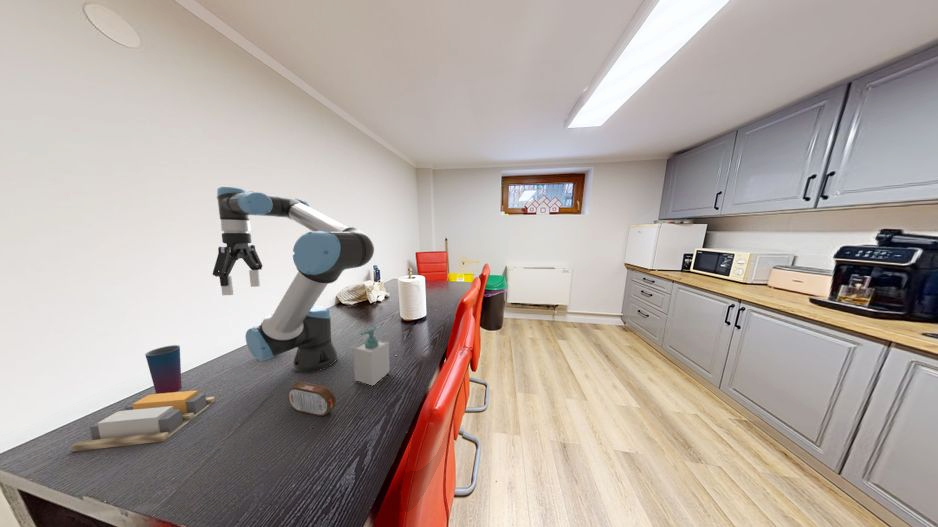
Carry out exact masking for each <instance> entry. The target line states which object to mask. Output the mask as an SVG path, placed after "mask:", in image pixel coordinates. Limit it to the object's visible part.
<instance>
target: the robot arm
mask: <svg viewBox="0 0 938 527" xmlns="http://www.w3.org/2000/svg"><path fill="white" fill-rule="evenodd" d="M216 200H217V205H218V206H217V207H218V214H219V220H220V222H219V223H220V230H221V231H222V233H221V241H222V243H223V244H226V246H218V247H217V248H218V249H217V250H218V251H217V252H218V254H217V257H216V261H215V264H214V268H213V271H212V276H213V277H217V278H218V277H219V283H220V286H221V295H222V296H232V295H234V288H233V281H232V280H233V277H232V275H230V274H231V272H232V270H233V267H234V266H235V264H236V261H238V260H239V259H241V260H243V262H244V263H245V264H246V265H247V266H248V268H249V270H248V272H249V273H248V274H249V281H250V282H249V283H250V287H251V288H252V287H253V288H254V287H255V288H256V287H260V286H261V283H260V282H261V281H260V273H259V270H262V269H263V263H262V261H261V259H260V257H259V255H258V253H257V250H256V246H255V244H251V243H252V233H249V232H251V231H252V230H251V222H250V216H258V217H259V216H260V217H261V216H262V217H273V218H274V217H276V218H277V217H278V218H286V219H289V220H291V221H293V222H295V223H296V224H298V225H300V226H301V227H303V228H305V229H307V230H308V231H309V232H305V233H303V234H302V235H301V236H299V237H298V239H297V240H296V241H295V243H294V245H293V249H292V252H293V253H294V254H292V259H293V264H294V266H295V267H296V270H297V273H296V275H295V276H294V278H293V280H292V282H291V283H290V285H289V287H288V288H287V290H286V292H285V293H284V295H283V297H281V300H280V302H279V303H278V305H277V307H276V308H275V311H274V312H271V313H269V314H267V316H266V317H264V319H263V320H262V322H261V324H260V325H258V326H253V327H251V328H249V329H248V330H246V332H245V341H246V345H247V349H248V351H249V352H250V354H251V355H252V356H253V357H254V358H255V359H256V360H258V361H261V362H263V361H267V360H270V359H274V358H275V357H278V356H279V355H282V354H284V353H287V352H289V351H291V350H294V349H296V348H297V350H296V353H295V356H294V359H293V364H292V366H293V370H294V371H295V372H296V373H299V372H300V374H303V373H304V374H308V373H309V372H310V373H313V371H315V372H318V371H317V370H319V371H321V370H320V369H322V370H324V369H323V368H325V367H327V366H329V365H330V364H332V363H333V362H334V361H335V360H336V359H337V360H338V352H337V350H336V348H335V345H334V343H333V341H332V328H331V327H332V325H331V324H332V322H331V313H330V310H329V308H327V307H323V306H314V305H315V304H316V302H317V301H318V300H319V298H320V296H321V295H322V293H323V292H324V290H325V288H326V287H327V286H328V285H330V284H333V283H334V282H336V281H337V280H338V279H339V277H340V276H341V275H342V273H343V272H344V271H345V270H350V269H357V268H359V267H363V266H365V265H367V264H368V263H369V262H370V261H371V260H372V258H373V256H374V254H375V246H374V242H373V240H372V239H371V237H370V236H369V235H368V234H367V233H364V232H363V231H362V230H359V229H358V228H356V227H353V226H350V227H349V226H346V225H344V224H342V223H340V222H338V221H336V220H334V219H332V218H330V217H328V216H326V215H325V214H323V213H321V212H319V211H317V210H316V209H313V208H311V207H310V204H308V202H307V201H306V200H303V199H299V198H293V197H284V196H278V195H272V194H266V193H263V192H259V191H253V190H252V191H251V190H250V191H246V190H245V189H244V188H242V187H241V188H240V187H233V186H219V187H218V188H216ZM337 360H336V361H337ZM332 365H333V364H332ZM329 367H330V366H329ZM327 368H328V367H327ZM325 369H326V368H325ZM310 373H309V374H310Z"/></svg>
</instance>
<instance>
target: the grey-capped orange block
mask: <svg viewBox="0 0 938 527" xmlns="http://www.w3.org/2000/svg"><path fill="white" fill-rule="evenodd" d="M206 397H207V396H206V393H199V391H198V390H187V391H177V392H172V393H160V394H156V393H152V394H147V395H146V396H144V397H142V398H139V399H137V400H136V401H134V402H132V403H131V404H129V405H126V407H125V411H126V410H136V409H147V408H157V407H168V406H173V409H174V410H180V409H181V411H182V414H184V413H194V414H197V413H198V412H199V411H201V410H202V409H203V408H205V407H206V406H207V403H206Z"/></svg>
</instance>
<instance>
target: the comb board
mask: <svg viewBox="0 0 938 527" xmlns="http://www.w3.org/2000/svg"><path fill="white" fill-rule="evenodd" d="M215 401H216V397H215V396H208V397H207V396H206V403H207V406H206V407H205V408H203V409H202V410H201V411H199V412H198V413H197V414H194V413H184V414H182V418H183V423H182V424H181V425H180V426H178V427H177V428H176V429H174V430H173V431H172V432H171V433H168V432H164V433H154V434H145V435H135V436H126V437H117V438H107V439H98V440H92V439H91V440H82V441H81V440H80V441H77V442H76V443H74V444H73V445H71V449H72V452H78V451H89V450H94V449H95V450H97V449H104V448H105V449H106V448H114V447H123V446H133V445H141V444H150V443H161V442H165V441H166V440H168V439H169V438H170V437H172V436H173V435H174V434H175V433H176V432H178V431H179V430H180V429H182V428H183V427H184V426H185V425H186V424H188V423H189V422H190V421H191V420H193V419H194V418H196V417H197V416H198V415H199V414H201V413H202V412H203V411H204V410H206V409H207V408H209V406H211V405H213V403H214V402H215Z"/></svg>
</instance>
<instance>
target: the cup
mask: <svg viewBox="0 0 938 527" xmlns="http://www.w3.org/2000/svg"><path fill="white" fill-rule="evenodd" d="M180 347H181V346H180V345H177V344H173V345H167V346H162V347H159V348H155V349H152V350H149V351H148V352H146V353H145V354H144V356H145V359H146V362H147V366H148V368H149V373H150V376H151V380H152V384H153V387H154V392H155V394H160V393H172V392H179V391H180V390H181V389H182V368H181V365H182V364H181V348H180Z"/></svg>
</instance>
